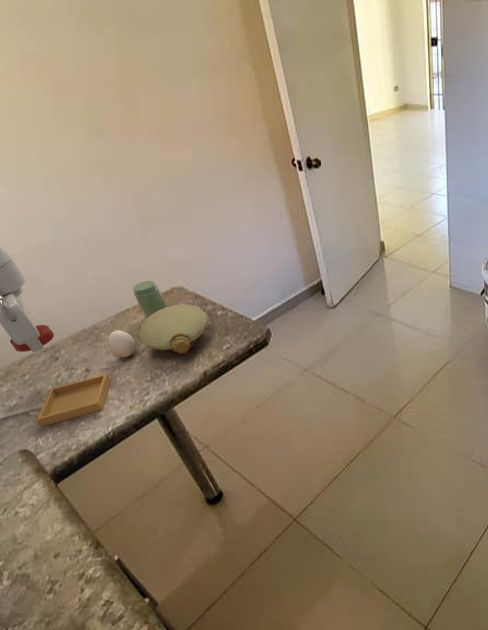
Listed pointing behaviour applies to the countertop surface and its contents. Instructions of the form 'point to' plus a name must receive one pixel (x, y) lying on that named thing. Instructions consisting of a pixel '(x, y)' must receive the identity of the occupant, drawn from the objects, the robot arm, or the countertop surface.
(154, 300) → the jar
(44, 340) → the lid
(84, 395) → the tray
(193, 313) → the flask
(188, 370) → the countertop surface
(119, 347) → the egg
